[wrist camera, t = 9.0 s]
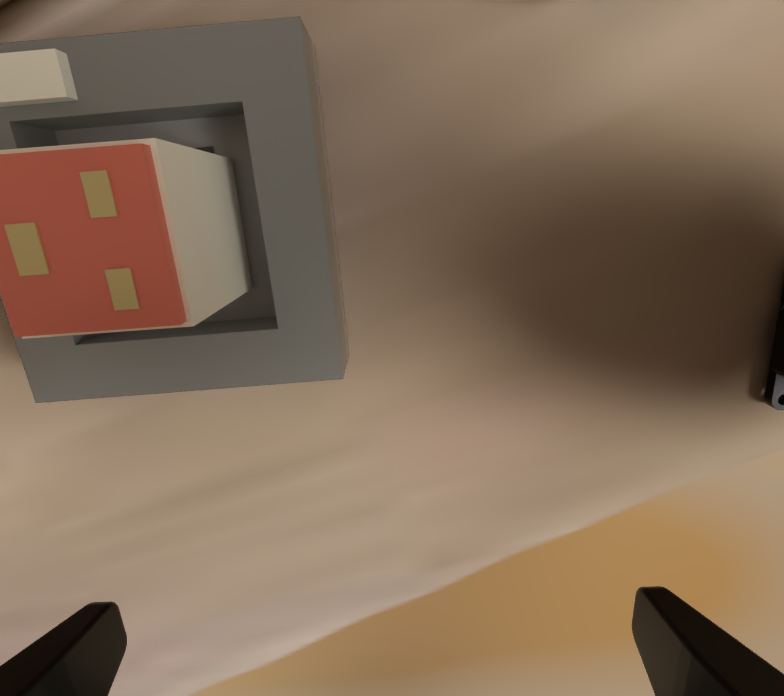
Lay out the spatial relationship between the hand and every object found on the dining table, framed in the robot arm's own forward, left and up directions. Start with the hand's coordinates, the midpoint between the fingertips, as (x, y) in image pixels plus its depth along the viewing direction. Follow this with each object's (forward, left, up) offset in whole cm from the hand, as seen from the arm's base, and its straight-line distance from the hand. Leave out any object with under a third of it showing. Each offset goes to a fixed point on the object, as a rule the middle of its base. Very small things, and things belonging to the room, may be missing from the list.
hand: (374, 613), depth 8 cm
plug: (+7, -6, -11) cm, 14 cm away
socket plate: (+7, -6, -12) cm, 15 cm away
